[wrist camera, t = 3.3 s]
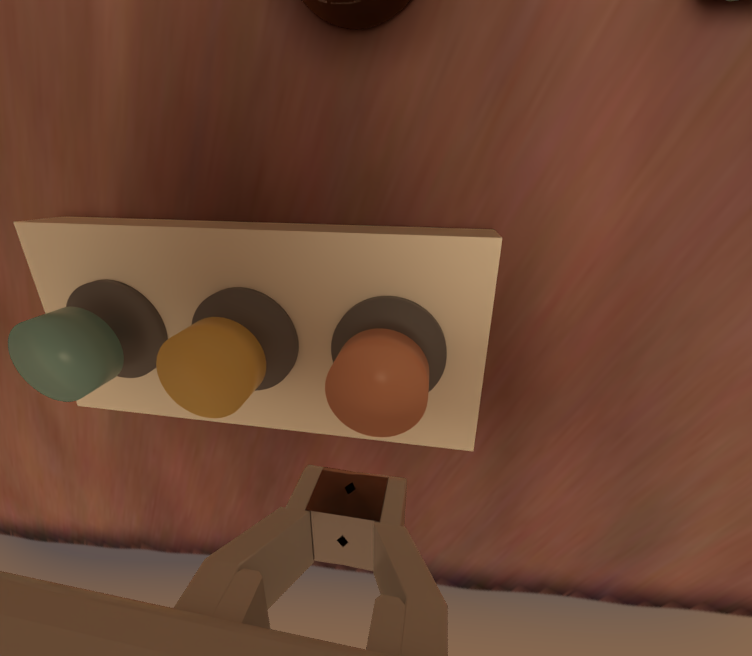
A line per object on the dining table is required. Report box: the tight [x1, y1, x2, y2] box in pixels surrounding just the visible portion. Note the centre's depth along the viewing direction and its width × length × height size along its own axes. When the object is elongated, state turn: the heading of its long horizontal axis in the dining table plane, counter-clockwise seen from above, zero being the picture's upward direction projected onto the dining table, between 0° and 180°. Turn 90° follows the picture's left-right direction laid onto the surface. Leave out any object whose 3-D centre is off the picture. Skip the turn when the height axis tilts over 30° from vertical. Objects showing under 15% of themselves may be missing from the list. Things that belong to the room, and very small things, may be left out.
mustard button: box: [156, 317, 266, 418], centre depth 18 cm, size 4×4×2 cm
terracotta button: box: [325, 328, 429, 437], centre depth 17 cm, size 4×4×2 cm
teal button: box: [8, 307, 124, 402], centre depth 19 cm, size 4×4×2 cm
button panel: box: [13, 216, 502, 451], centre depth 22 cm, size 26×12×4 cm, turn 89°
